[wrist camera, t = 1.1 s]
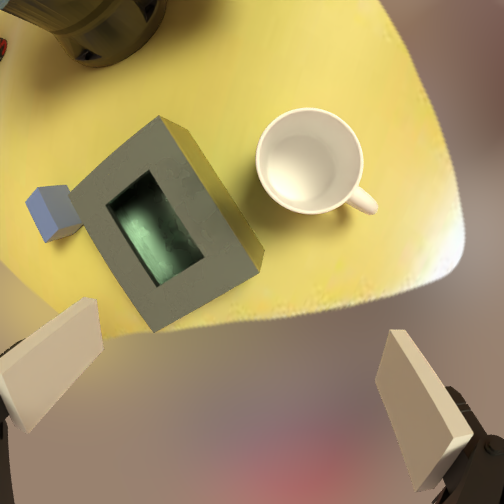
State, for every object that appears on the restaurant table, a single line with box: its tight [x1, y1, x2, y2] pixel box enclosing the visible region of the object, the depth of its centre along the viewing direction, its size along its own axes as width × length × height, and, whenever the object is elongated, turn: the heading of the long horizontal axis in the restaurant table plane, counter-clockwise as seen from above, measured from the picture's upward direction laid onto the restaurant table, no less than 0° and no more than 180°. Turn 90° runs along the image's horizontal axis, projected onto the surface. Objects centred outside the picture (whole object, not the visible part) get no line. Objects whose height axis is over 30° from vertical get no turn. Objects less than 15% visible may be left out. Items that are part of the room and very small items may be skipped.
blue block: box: [25, 185, 83, 243], centre depth 33 cm, size 6×3×6 cm, turn 32°
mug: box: [256, 108, 378, 215], centre depth 27 cm, size 12×8×10 cm
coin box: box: [68, 116, 265, 333], centre depth 30 cm, size 16×12×9 cm
